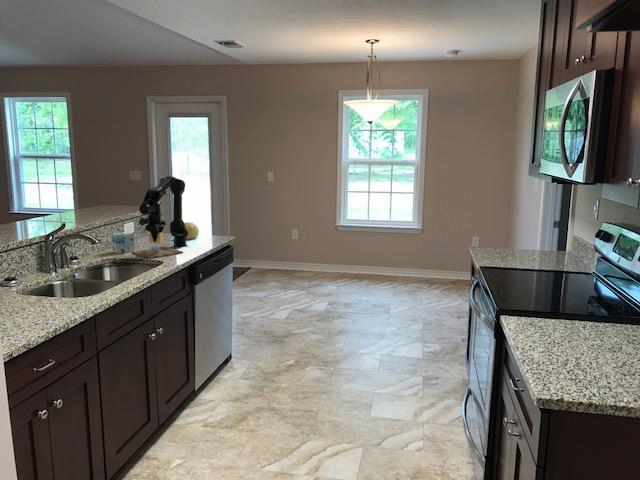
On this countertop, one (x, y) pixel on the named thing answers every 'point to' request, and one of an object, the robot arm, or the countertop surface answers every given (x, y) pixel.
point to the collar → (159, 238)
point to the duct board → (164, 252)
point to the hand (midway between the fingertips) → (156, 240)
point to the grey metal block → (156, 249)
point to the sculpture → (191, 230)
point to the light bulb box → (123, 242)
